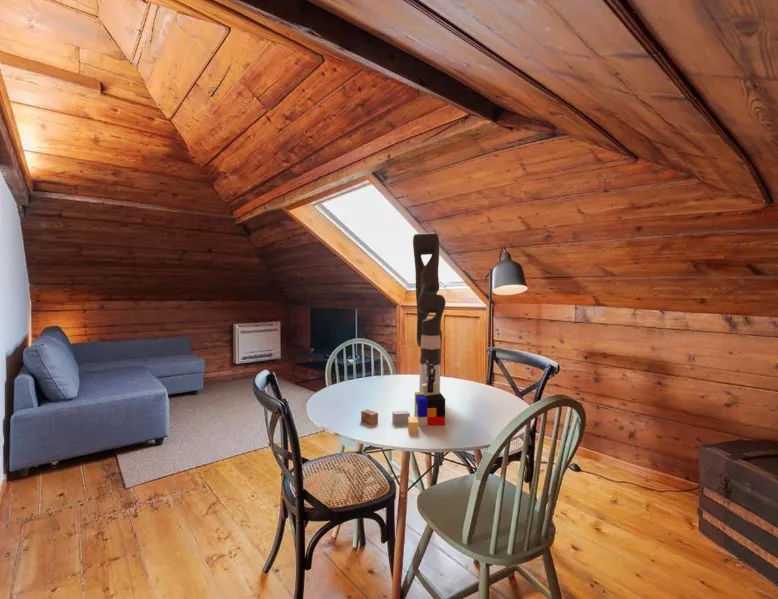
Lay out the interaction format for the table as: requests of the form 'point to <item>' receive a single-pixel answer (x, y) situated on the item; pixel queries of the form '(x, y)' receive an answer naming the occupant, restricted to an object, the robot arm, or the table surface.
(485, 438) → the table surface
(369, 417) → the walnut brick
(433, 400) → the puzzle toy
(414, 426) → the mustard brick
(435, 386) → the cream brick
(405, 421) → the slate brick
